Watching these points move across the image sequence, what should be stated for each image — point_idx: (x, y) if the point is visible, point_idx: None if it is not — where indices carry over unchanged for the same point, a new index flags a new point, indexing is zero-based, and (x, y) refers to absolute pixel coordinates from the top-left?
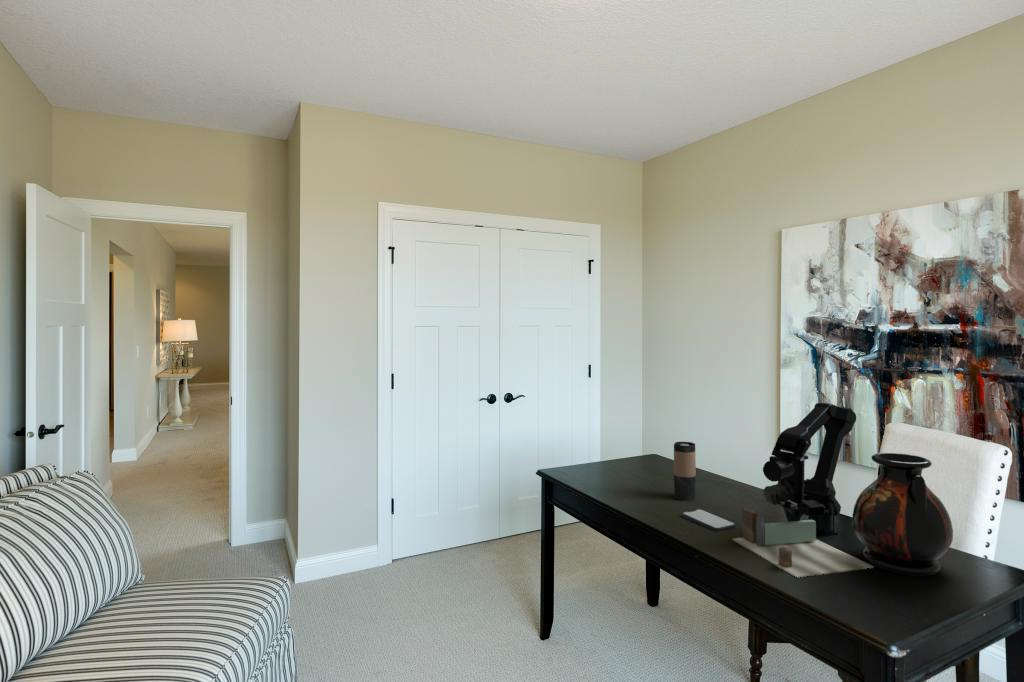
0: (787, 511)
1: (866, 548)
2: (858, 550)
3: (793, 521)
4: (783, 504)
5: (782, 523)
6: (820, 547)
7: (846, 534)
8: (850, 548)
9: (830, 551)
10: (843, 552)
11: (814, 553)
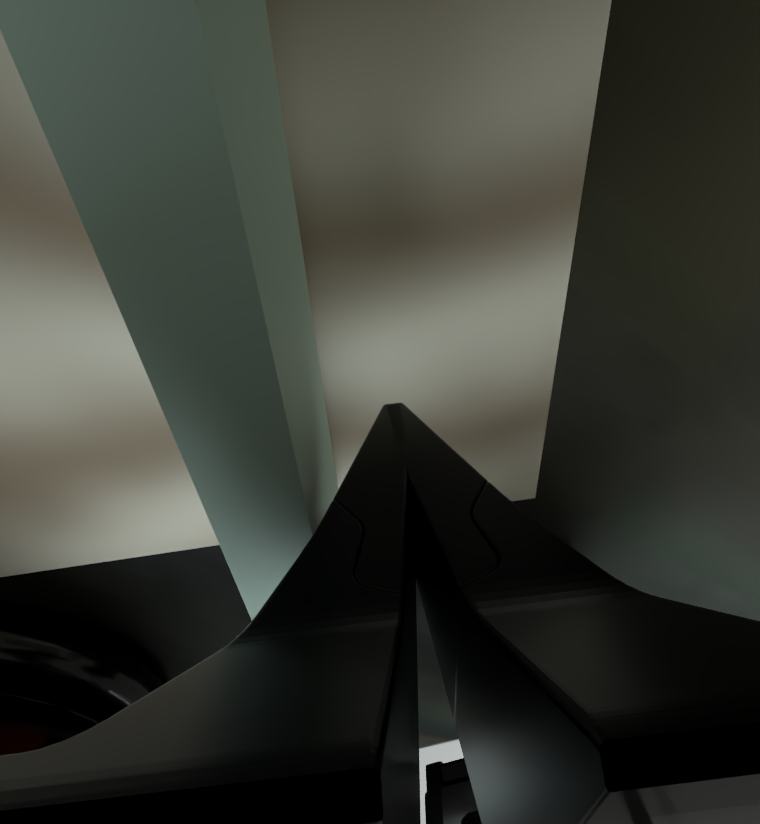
0: (465, 597)
1: (44, 677)
2: (188, 624)
3: (282, 487)
4: (695, 815)
5: (110, 177)
6: (187, 476)
7: (423, 655)
8: (218, 607)
9: (100, 500)
10: (98, 558)
11: (3, 365)
